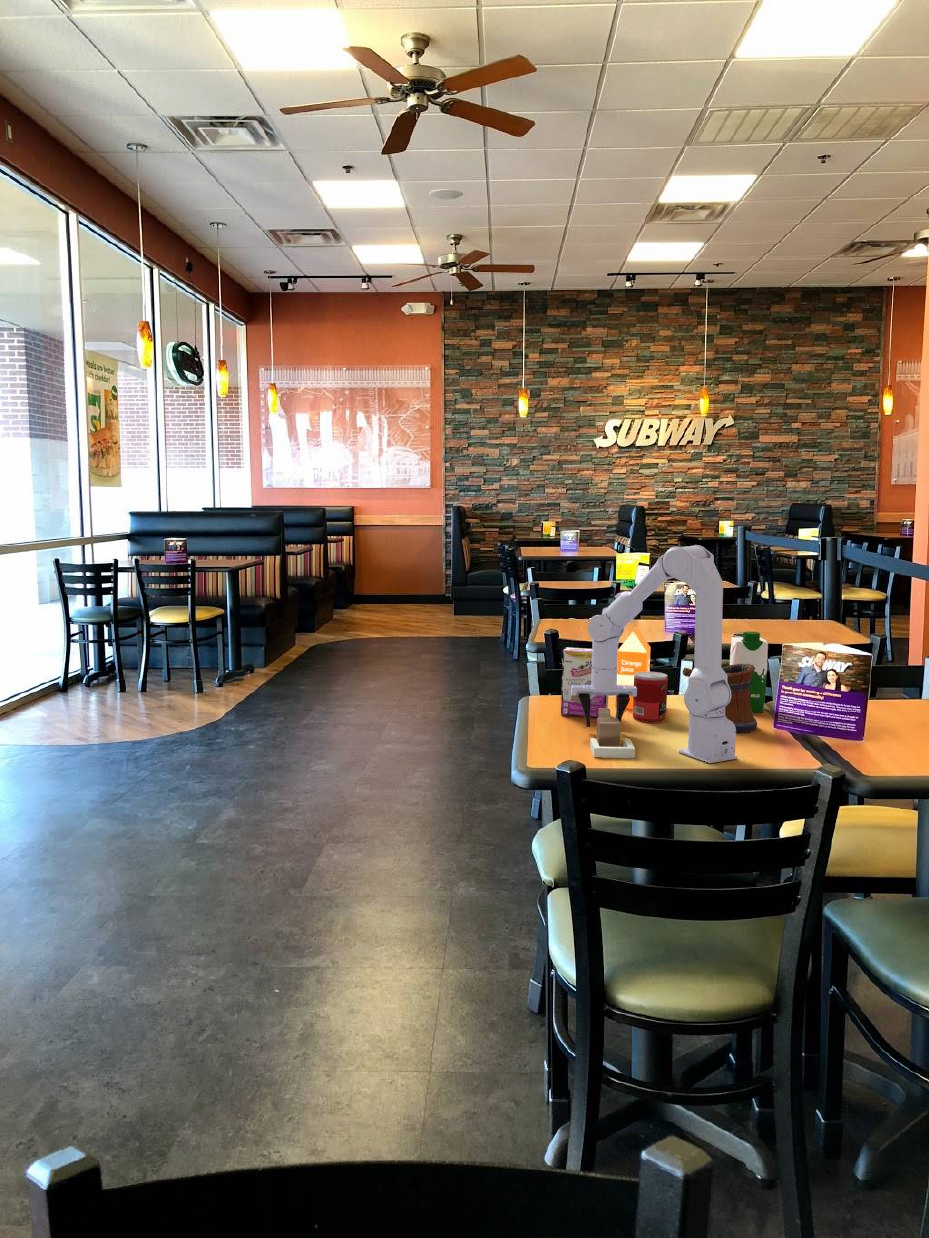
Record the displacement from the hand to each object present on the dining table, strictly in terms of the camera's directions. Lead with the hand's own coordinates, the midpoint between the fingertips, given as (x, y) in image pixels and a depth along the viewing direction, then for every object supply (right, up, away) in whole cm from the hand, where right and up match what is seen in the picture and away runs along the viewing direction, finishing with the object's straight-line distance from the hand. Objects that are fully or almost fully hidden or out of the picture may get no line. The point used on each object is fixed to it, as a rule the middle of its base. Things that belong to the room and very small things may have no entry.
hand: (602, 726), depth 211 cm
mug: (+28, -1, +6) cm, 29 cm away
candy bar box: (-2, 0, +17) cm, 17 cm away
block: (0, -3, -6) cm, 7 cm away
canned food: (+13, 0, +14) cm, 19 cm away
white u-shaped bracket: (0, -4, -15) cm, 16 cm away
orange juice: (+12, +2, +29) cm, 32 cm away
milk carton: (+40, +1, +25) cm, 48 cm away
